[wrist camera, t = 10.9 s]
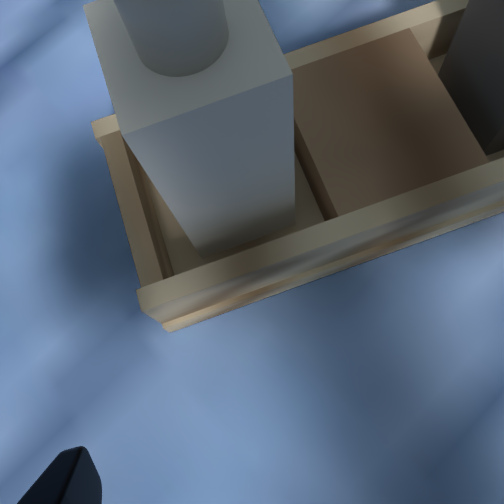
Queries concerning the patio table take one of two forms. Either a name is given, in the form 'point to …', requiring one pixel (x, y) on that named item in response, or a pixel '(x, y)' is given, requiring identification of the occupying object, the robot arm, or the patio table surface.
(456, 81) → the black plug
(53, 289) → the patio table surface
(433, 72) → the tray
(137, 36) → the grey plug
